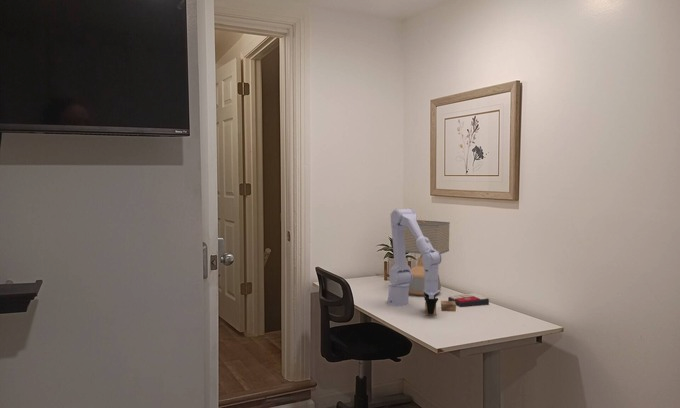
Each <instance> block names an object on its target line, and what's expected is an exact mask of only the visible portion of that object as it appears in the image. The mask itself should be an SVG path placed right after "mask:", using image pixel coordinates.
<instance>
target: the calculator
mask: <svg viewBox="0 0 680 408" xmlns="http://www.w3.org/2000/svg"><path fill="white" fill-rule="evenodd" d="M447 297H448V300H447V301H455V303H456V307H459V308H467V307H479V306H489V305H490V298H488V297H486V296H484V295H481V294H478V293H476V292H472V293H463V294H456V295H449V296H447Z"/></svg>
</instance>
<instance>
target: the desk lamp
mask: <svg viewBox="0 0 680 408" xmlns="http://www.w3.org/2000/svg"><path fill="white" fill-rule="evenodd" d="M416 221H417V223H418V225H419V227H420V230H421V232H422V234H423V236H424V237H427V238H428V239H429V241H430V243H431V245H432V247H433V248H434V249H435V250H436V251H438V252H439V253H440V255H443V254H445V253H447V252H450V221H437V220H425V219H421V220H420V219H416ZM416 241H417V240H416V238H415V237H414V235H413V234H412V232H411V231H410V229H409V228H408V227H407V226H406V227H405V228H404V242H405V253H409V254H410V253H411V254H417V255H418V254H420V256H419V257H418V258H417V264H416V266H413V267H412V268H411V273H412V275H413V280H412V282H411V283H410V285H409V295H413V296H417V297H425V295H424V275H425V269H424V265H423V263H422V257H423V256H422V254H421V252H420V251H419V249H418V247H417V245H416ZM441 285H442V284H441V279H440V275H439V274H438V290H440V291H442V290H441V289H442V287H441Z"/></svg>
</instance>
